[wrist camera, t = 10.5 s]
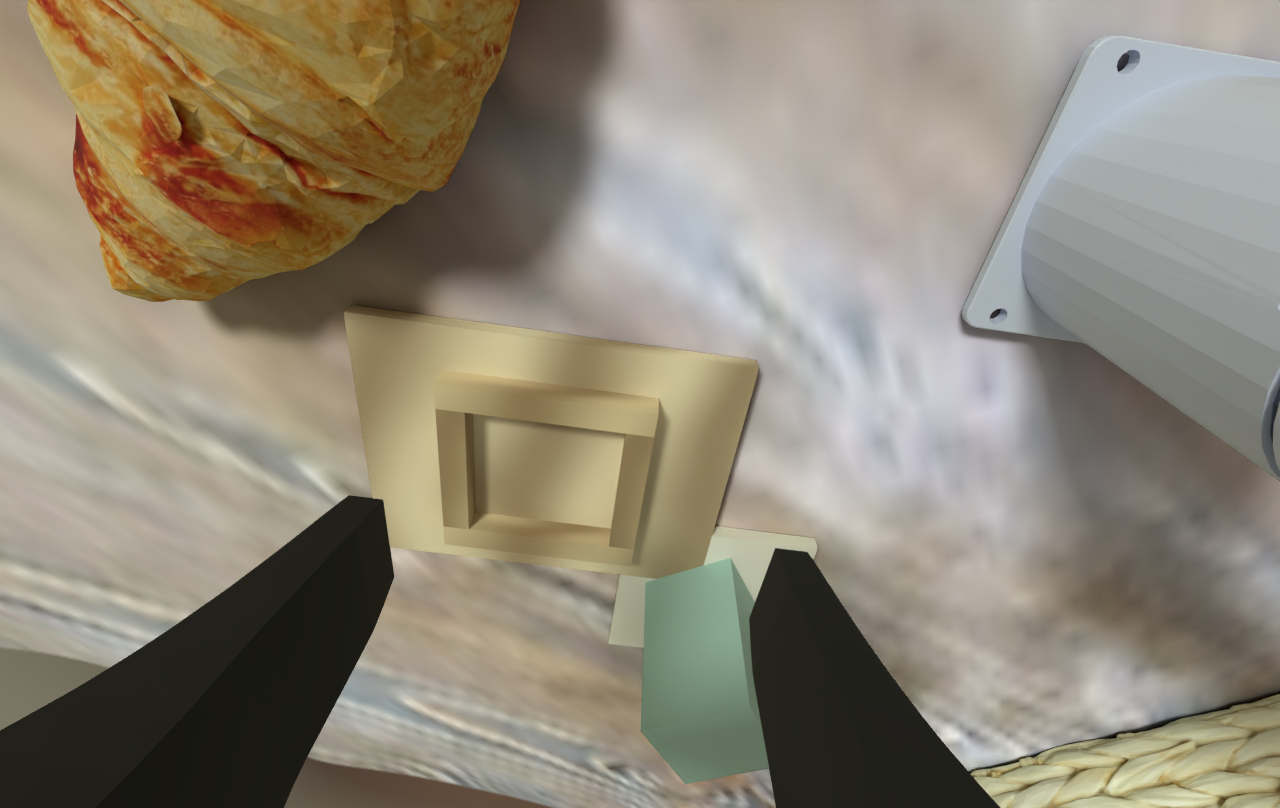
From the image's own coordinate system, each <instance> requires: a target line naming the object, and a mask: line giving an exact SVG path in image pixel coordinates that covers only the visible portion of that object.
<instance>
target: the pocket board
mask: <svg viewBox="0 0 1280 808" xmlns="http://www.w3.org/2000/svg"><path fill="white" fill-rule="evenodd" d="M343 313H344V319H345V326H346V332H347V339H348V345H349V351H350V358H351V364H352V371H353V377H354V383H355V390H356V396H357V403H358V409H359V415H360V422H361V428H362V435H363V441H364V447H365V454H366V460H367V467H368V473H369V479H370V486H371V492H372V498H374V499H382V500H383V502H384V509H385V516H386V523H387V530H388V537H389V544H390V547H394V548H402V549H411V550H419V551H427V552H436V553H444V554H452V555H461V556H469V557H478V558H486V559H494V560H503V561H511V562H519V563H528V564H536V565H544V566H553V567H561V568H569V569H578V570H586V571H594V572H603V573H611V574H619V575H628V576H636V577H645V578H653V579H659V578H662V577H666V576H669V575H673V574H676V573H680V572H683V571H686V570H690V569H693V568H697V567H700V566H704V562H705V559H706V555H707V552H708V548H709V545H710V541H711V538H712V534H713V531H714V527H715V524H716V520H717V516H718V513H719V509H720V506H721V502H722V499H723V495H724V492H725V488H726V485H727V481H728V477H729V474H730V470H731V467H732V463H733V460H734V456H735V453H736V449H737V446H738V442H739V439H740V435H741V431H742V428H743V424H744V421H745V417H746V414H747V410H748V407H749V403H750V400H751V396H752V392H753V389H754V385H755V382H756V378H757V375H758V371H759V366H758V363H757V360H750V359H743V358H735V357H728V356H721V355H714V354H706V353H699V352H692V351H684V350H677V349H670V348H663V347H655V346H648V345H641V344H633V343H626V342H619V341H611V340H604V339H597V338H590V337H582V336H575V335H568V334H560V333H553V332H546V331H539V330H531V329H524V328H517V327H509V326H502V325H495V324H488V323H480V322H473V321H466V320H458V319H451V318H444V317H437V316H429V315H422V314H415V313H407V312H400V311H393V310H386V309H378V308H371V307H364V306H356V305H351V306H350V307H349V308H347V309H346V310H345V311H344V312H343Z"/></svg>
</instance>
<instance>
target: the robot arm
mask: <svg viewBox="0 0 1280 808" xmlns="http://www.w3.org/2000/svg"><path fill="white" fill-rule="evenodd" d="M1127 51H1128V53H1129V61H1128V64H1127V65H1126V66H1125V67H1124V69H1122V70H1121V71H1119V72H1118V70H1117V63H1118V60H1119V59H1120V57H1121V56H1122V55H1123V54H1124V53H1125V52H1127ZM997 309H1001V312H1000V313H999V315H998V316H997V317H995V318H993V319H990V315H991V314H992V312H993V311H995V310H997ZM962 317H963V319H964V320H965V321H966V322H967V323H968V324H969V325H970V326H972V327H975V328H981V329H988V330H995V331H1002V332H1009V333H1016V334H1023V335H1030V336H1037V337H1044V338H1051V339H1058V340H1066V341H1073V342H1080V343H1086V344H1087V345H1089V346H1090V347H1091V348H1093V349H1094V350H1096V351H1097V352H1098V353H1100V354H1101V355H1103V356H1104V357H1106V358H1107V359H1108V360H1110V361H1111V362H1113V363H1114V364H1115V365H1117V366H1118V367H1120V368H1121V369H1122V370H1124V371H1125V372H1127V373H1128V374H1129V375H1131V376H1132V377H1134V378H1135V379H1136V380H1138V381H1139V382H1141V383H1142V384H1144V385H1145V386H1146V387H1148V388H1149V389H1151V390H1152V391H1153V392H1155V393H1156V394H1158V395H1159V396H1160V397H1162V398H1163V399H1165V400H1166V401H1167V402H1169V403H1170V404H1172V405H1173V406H1175V407H1176V408H1177V409H1179V410H1180V411H1182V412H1183V413H1184V414H1186V415H1187V416H1189V417H1190V418H1191V419H1193V420H1194V421H1196V422H1197V423H1198V424H1200V425H1201V426H1203V427H1204V428H1206V429H1207V430H1208V431H1210V432H1211V433H1213V434H1214V435H1215V436H1217V437H1218V438H1220V439H1221V440H1222V441H1224V442H1225V443H1227V444H1228V445H1229V446H1231V447H1232V448H1234V449H1235V450H1237V451H1238V452H1239V453H1241V454H1242V455H1244V456H1245V457H1246V458H1248V459H1249V460H1251V461H1252V462H1253V463H1255V464H1256V465H1258V466H1259V467H1260V468H1262V469H1263V470H1265V471H1266V472H1268V473H1269V474H1270V475H1272V476H1273V477H1275V478H1276V479H1277V480H1279V481H1280V62H1277V61H1270V60H1264V59H1258V58H1252V57H1246V56H1240V55H1234V54H1228V53H1222V52H1216V51H1210V50H1204V49H1198V48H1192V47H1186V46H1180V45H1174V44H1168V43H1162V42H1156V41H1150V40H1144V39H1138V38H1132V37H1126V36H1120V35H1116V36H1103V37H1101V38H1099V39H1097V40H1095V41H1094V42H1092V43H1091V44H1090V45H1089V46H1088V47H1087V48H1086V50H1085V52H1084V53H1083V55H1082V56H1081V59H1080V61H1079V63H1078V65H1077V67H1076V69H1075V71H1074V73H1073V75H1072V78H1071V80H1070V82H1069V84H1068V86H1067V88H1066V90H1065V92H1064V95H1063V97H1062V99H1061V101H1060V103H1059V105H1058V107H1057V109H1056V112H1055V114H1054V116H1053V118H1052V120H1051V122H1050V124H1049V126H1048V129H1047V131H1046V133H1045V135H1044V137H1043V139H1042V141H1041V143H1040V146H1039V148H1038V150H1037V152H1036V154H1035V156H1034V158H1033V160H1032V163H1031V165H1030V167H1029V169H1028V171H1027V173H1026V175H1025V177H1024V180H1023V182H1022V184H1021V186H1020V188H1019V190H1018V192H1017V194H1016V197H1015V199H1014V201H1013V203H1012V205H1011V207H1010V209H1009V211H1008V213H1007V216H1006V218H1005V220H1004V222H1003V224H1002V226H1001V228H1000V230H999V233H998V235H997V237H996V239H995V241H994V243H993V245H992V247H991V250H990V252H989V254H988V256H987V258H986V260H985V262H984V264H983V267H982V269H981V271H980V273H979V275H978V277H977V279H976V281H975V284H974V286H973V288H972V290H971V292H970V294H969V296H968V298H967V301H966V303H965V305H964V307H963V310H962ZM393 578H394V572H393V565H392V558H391V551H390V544H389V537H388V530H387V523H386V516H385V509H384V502H383V500H382V499H374V498H366V497H358V496H350V495H349V496H348V497H346V498H345V499H344V500H342V501H341V502H340V503H338V504H337V505H336V506H334V507H333V508H332V509H330V510H329V511H328V512H327V513H325V514H324V515H323V516H322V517H320V518H319V519H318V520H316V521H315V522H314V523H313V524H311V525H310V526H309V527H308V528H306V529H305V530H304V531H302V532H301V533H300V534H299V535H297V536H296V537H295V538H294V539H292V540H291V541H290V542H288V543H287V544H286V545H285V546H283V547H282V548H281V549H279V550H278V551H277V552H276V553H274V554H273V555H272V556H270V557H269V558H268V559H266V560H265V561H264V562H262V563H261V564H260V565H258V566H257V567H256V568H254V569H253V570H252V571H250V572H249V573H248V574H246V575H245V576H244V577H242V578H241V579H240V580H238V581H237V582H236V583H235V584H233V585H232V586H230V587H229V588H228V589H226V590H225V591H224V592H222V593H221V594H219V595H218V596H216V597H215V598H214V599H212V600H211V601H209V602H208V603H206V604H205V605H204V606H202V607H201V608H199V609H198V610H196V611H195V612H194V613H192V614H191V615H189V616H188V617H186V618H185V619H184V620H182V621H181V622H179V623H178V624H176V625H175V626H174V627H172V628H171V629H169V630H168V631H166V632H165V633H163V634H162V635H160V636H159V637H157V638H156V639H154V640H153V641H151V642H150V643H148V644H147V645H145V646H143V647H142V648H140V649H139V650H137V651H136V652H134V653H133V654H131V655H129V656H128V657H126V658H125V659H123V660H122V661H120V662H118V663H117V664H115V665H113V666H112V667H110V668H108V669H107V670H105V671H104V672H102V673H101V674H99V675H97V676H95V677H94V678H92V679H91V680H89V681H87V682H86V683H84V684H82V685H81V686H79V687H77V688H76V689H74V690H72V691H70V692H69V693H67V694H65V695H64V696H62V697H60V698H58V699H56V700H54V701H53V702H51V703H49V704H47V705H46V706H44V707H42V708H40V709H38V710H37V711H35V712H33V713H31V714H29V715H28V716H26V717H24V718H23V719H20V720H19V721H17V722H15V723H13V724H11V725H10V726H8V727H6V728H4V729H2V730H1V731H0V808H284V806H285V804H286V801H287V799H288V797H289V794H290V792H291V789H292V787H293V785H294V783H295V781H296V779H297V777H298V775H299V772H300V770H301V768H302V766H303V764H304V762H305V760H306V758H307V756H308V754H309V752H310V750H311V748H312V747H313V745H314V743H315V741H316V739H317V737H318V735H319V733H320V731H321V730H322V728H323V726H324V724H325V722H326V720H327V718H328V716H329V714H330V713H331V711H332V709H333V707H334V705H335V703H336V701H337V699H338V698H339V696H340V694H341V692H342V690H343V688H344V686H345V684H346V682H347V681H348V679H349V677H350V675H351V673H352V671H353V669H354V667H355V665H356V663H357V661H358V660H359V658H360V656H361V654H362V652H363V650H364V648H365V646H366V644H367V642H368V640H369V638H370V636H371V634H372V632H373V630H374V628H375V625H376V623H377V620H378V618H379V615H380V613H381V610H382V608H383V605H384V603H385V600H386V597H387V595H388V592H389V589H390V586H391V584H392V581H393ZM749 626H750V645H751V660H752V673H753V679H754V685H755V691H756V697H757V703H758V709H759V714H760V720H761V726H762V731H763V737H764V742H765V748H766V753H767V759H768V764H769V770H770V776H771V781H772V787H773V792H774V798H775V803H776V808H1000V806H999V805H998V804H997V803H996V802H995V801H994V800H993V799H992V798H991V797H990V796H989V795H988V793H987V792H986V791H985V790H984V789H983V788H982V787H981V786H980V785H979V783H978V782H977V781H976V780H975V779H974V778H973V776H972V775H971V774H970V773H969V772H968V771H967V770H966V768H965V767H964V766H963V765H962V764H961V763H960V761H959V760H958V759H957V758H956V757H955V756H954V755H953V753H952V752H951V751H950V750H949V749H948V748H947V747H946V745H945V744H944V743H943V742H942V740H941V739H940V738H939V737H938V736H937V734H936V733H935V732H934V731H933V729H932V728H931V727H930V726H929V724H928V723H927V722H926V721H925V719H924V718H923V717H922V716H921V714H920V713H919V712H918V710H917V709H916V708H915V706H914V705H913V704H912V703H911V701H910V700H909V699H908V697H907V696H906V695H905V693H904V692H903V691H902V690H901V688H900V687H899V685H898V684H897V683H896V681H895V680H894V679H893V677H892V676H891V675H890V673H889V672H888V671H887V669H886V668H885V666H884V665H883V664H882V662H881V661H880V659H879V658H878V656H877V655H876V654H875V652H874V651H873V649H872V648H871V646H870V645H869V644H868V642H867V641H866V639H865V638H864V637H863V635H862V634H861V632H860V631H859V629H858V628H857V626H856V625H855V623H854V622H853V620H852V619H851V617H850V616H849V614H848V613H847V611H846V610H845V608H844V607H843V605H842V604H841V602H840V601H839V599H838V598H837V596H836V595H835V593H834V591H833V590H832V588H831V587H830V585H829V584H828V582H827V581H826V579H825V578H824V576H823V574H822V573H821V571H820V570H819V568H818V567H817V565H816V564H815V562H814V560H813V559H812V557H811V556H810V555H809V553H808V552H804V551H796V550H788V549H780V548H775V550H774V553H773V555H772V558H771V561H770V563H769V566H768V569H767V572H766V574H765V577H764V580H763V582H762V585H761V588H760V590H759V593H758V596H757V598H756V601H755V604H754V607H753V609H752V612H751V615H750V617H749Z"/></svg>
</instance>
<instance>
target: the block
mask: <svg viewBox="0 0 1280 808" xmlns="http://www.w3.org/2000/svg"><path fill="white" fill-rule="evenodd" d="M754 604H755V602H754V600H753V598H752V596H751V594H750V592H749V591H748V589H747V587H746V585H745V583H744V581H743V580H742V578H741V576H740V574H739V572H738V570H737V569H736V567H735V565H734V563H733V561H732V559H731V558H727V559H724V560H721V561H717V562H714V563H710V564H707V565H704V566H700V567H697V568H693V569H690V570H686V571H683V572H680V573H676V574H673V575H669V576H666V577H662V578H659V579H656V580H652V581H649V582H646V586H645V616H644V647H643V677H642V707H641V732H642V733H643V735H644V736H645V737H646V738H647V739H648V740H649V742H650V743H651V744H652V745H653V746H654V748H655V749H656V750H657V751H658V752H659V753H660V755H661V756H662V757H663V758H664V759H665V760H666V762H667V763H668V764H669V765H670V766H671V768H672V769H673V770H674V771H675V772H676V773H677V775H678V776H679V777H680V778H681V779H682V780H683V782H684V783H685V784H688V783H693V782H698V781H704V780H709V779H714V778H719V777H725V776H730V775H735V774H741V773H746V772H751V771H756V770H762V769H767V768H769V764H768V759H767V753H766V748H765V742H764V737H763V731H762V726H761V720H760V714H759V709H758V703H757V697H756V691H755V685H754V679H753V673H752V660H751V645H750V626H749V617H750V615H751V612H752V609H753V607H754Z"/></svg>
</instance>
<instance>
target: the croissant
mask: <svg viewBox="0 0 1280 808" xmlns="http://www.w3.org/2000/svg"><path fill="white" fill-rule="evenodd" d="M520 1H521V0H28V7H27V11H28V14H29V17H30V20H31V23H32V25H33V27H34V29H35V31H36V33H37V36H38V38H39V40H40V42H41V44H42V47H43V49H44V51H45V53H46V55H47V57H48V59H49V61H50V63H51V65H52V67H53V69H54V71H55V74H56V76H57V78H58V80H59V82H60V84H61V87H62V88H63V90H64V91H65V93H66V94H67V95H68V97H69V98H70V100H71V101H72V103H73V104H74V105H75V109H76V113H77V114H76V137H75V145H74V151H73V171H74V175H75V180H76V185H77V189H78V191H79V193H80V195H81V197H82V199H83V201H84V203H85V205H86V207H87V209H88V212H89V215H90V217H91V219H92V221H93V222H94V224H95V225H96V227H97V229H98V230H99V232H100V233H101V239H100V241H99V243H100V249H101V254H102V260H103V263H104V266H105V269H106V272H107V275H108V279H109V282H110V284H111V286H112V288H113V289H115V290H117V291H119V292H121V293H123V294H125V295H129V296H132V297H136V298H140V299H144V300H147V301H151V302H162V301H167V300H172V299H176V300H192V301H207V300H212V299H214V298H215V297H217V296H219V295H220V294H222V293H225V292H229V291H231V290H232V289H234V288H235V287H237V286H239V285H241V284H243V283H245V282H247V281H249V280H251V279H261V278H264V277H267V276H270V275H273V274H276V273H279V272H286V271H293V270H303V269H305V268H308V267H310V266H313V265H315V264H317V263H319V262H321V261H322V260H324V259H326V258H328V257H330V256H331V255H333V254H334V253H336V252H337V251H339V250H340V249H342V248H343V247H345V246H346V245H348V244H349V243H351V242H352V241H353V240H354V239H355V238H356V236H357V235H358V234H359V233H360V231H361V230H362V229H363V227H364V226H365V225H366V224H369V223H373V222H374V221H376V220H377V219H378V218H380V217H381V216H382V215H383V214H385V213H386V212H387V211H388V210H390V209H391V208H392V207H393V206H394V205H395V204H404V203H406V202H407V201H408V200H410V199H411V198H412V197H413V196H414V195H415V194H416V193H418V192H419V191H420V190H425V191H431V192H434V191H435V190H437V189H439V188H441V187H443V186H444V185H445V184H446V183H447V182H448V181H449V179H450V177H451V175H452V173H453V171H454V169H455V166H456V163H457V161H458V160H459V159H460V158H461V156H462V153H463V151H464V149H465V146H466V144H467V142H468V139H469V137H470V134H471V132H472V130H473V128H474V126H475V124H476V121H477V118H478V115H479V112H480V110H481V104H482V100H483V98H484V96H485V94H486V93H487V91H488V90H489V88H490V86H491V85H492V83H493V82H495V78H496V76H497V75H498V72H499V70H500V68H501V66H502V63H503V61H504V59H505V56H506V51H507V47H508V43H509V39H510V35H511V32H512V28H513V24H514V20H515V16H516V13H517V10H518V7H519V4H520Z"/></svg>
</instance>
